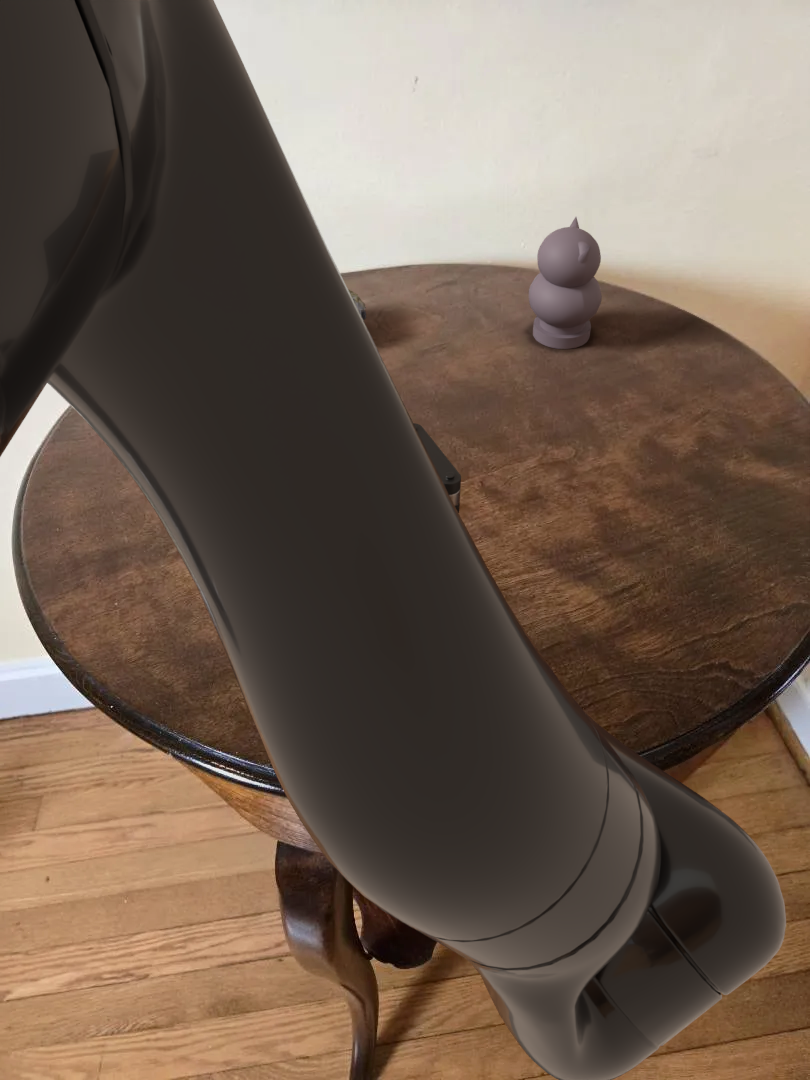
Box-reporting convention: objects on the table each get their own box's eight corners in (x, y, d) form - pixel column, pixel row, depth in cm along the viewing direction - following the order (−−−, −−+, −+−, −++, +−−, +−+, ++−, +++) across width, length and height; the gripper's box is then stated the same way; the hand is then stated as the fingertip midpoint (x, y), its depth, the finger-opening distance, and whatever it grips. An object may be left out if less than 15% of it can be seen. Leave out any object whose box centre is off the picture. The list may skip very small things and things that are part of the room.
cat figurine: (519, 316, 98) (528, 214, 90) (586, 313, 98) (601, 211, 90) (531, 355, 92) (542, 249, 84) (603, 352, 92) (620, 246, 84)
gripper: (535, 504, 40) (381, 346, 50) (250, 612, 35) (145, 413, 45) (521, 610, 45) (384, 447, 55) (271, 717, 40) (172, 516, 51)
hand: (276, 432), depth 50 cm, fingers open, 8 cm apart
